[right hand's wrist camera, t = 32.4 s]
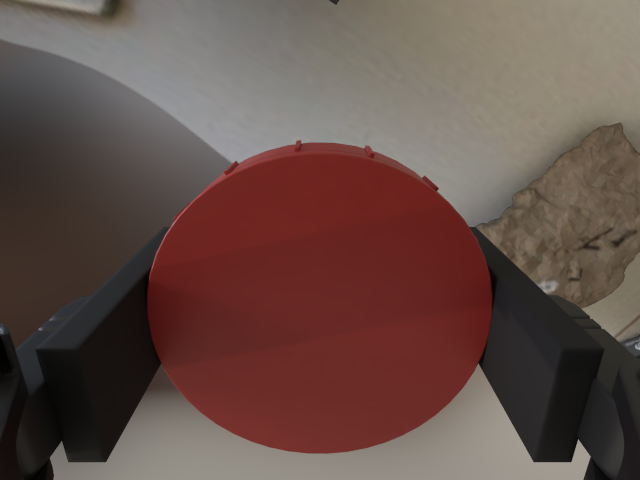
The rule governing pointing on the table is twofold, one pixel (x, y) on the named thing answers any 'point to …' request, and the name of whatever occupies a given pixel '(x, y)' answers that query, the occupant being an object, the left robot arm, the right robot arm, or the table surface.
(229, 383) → the lid
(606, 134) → the stone
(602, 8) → the table surface
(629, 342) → the graphics card box
